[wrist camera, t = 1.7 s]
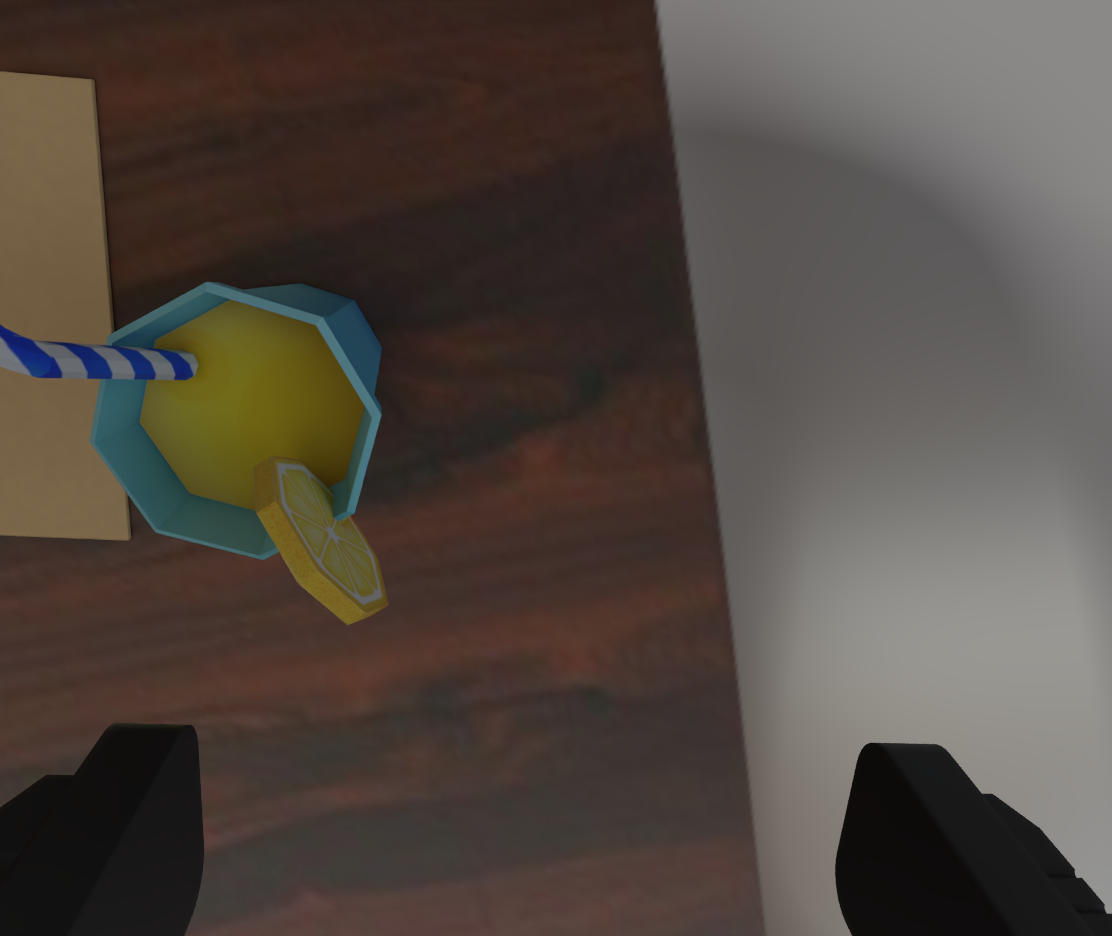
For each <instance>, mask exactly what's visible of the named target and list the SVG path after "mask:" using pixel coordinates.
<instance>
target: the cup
mask: <svg viewBox="0 0 1112 936" xmlns="http://www.w3.org/2000/svg"><path fill="white" fill-rule="evenodd" d="M381 352H382V346H381V345H380V343H379V341H378V339H377V338H376V336H375V334H374V333H373V331H372V329H371V327H370V326H369V324H368V322H367V321H366V319H365V317H364V315H363V314H362V312H361V310H360V309H359V307H358V305H357V303H356V302H355V300H353V299H350V298H346V297H343V296H340V295H337V294H334V293H330V292H327V291H324V290H321V289H317V288H314V287H311V286H308V285H304V284H301V283H299V284H290V285H281V286H272V287H263V288H253V289H244V290H242V289H239V288H235V287H232V286H229V285H226V284H222V283H219V282H205V283H204V284H202V285H200V286H198V287H196V288H194V289H193V290H191V291H189V292H187V293H185V294H183V295H182V296H180V297H178V298H176V299H174V300H172V301H171V302H169V303H167V304H165V305H163V306H161V307H160V308H158V309H156V310H154V311H152V312H150V313H149V314H147V315H145V316H143V317H141V318H139V319H138V320H136V321H134V322H132V323H130V324H128V325H127V326H125V327H123V328H121V329H119V330H117V331H116V332H114V333H112V334H110V335H108V337H107V343H106V345H95V344H81V343H66V342H52V341H37V340H32V339H29V338H27V337H24V336H21V335H19V334H16V333H14V332H12V331H10V330H8V329H6V328H4V327H3V326H2V325H1V324H0V367H3V368H5V369H8V370H12V371H15V372H19V373H22V374H26V375H29V376H33V377H37V378H73V379H100V383H99V389H98V394H97V400H96V406H95V412H94V417H93V423H92V429H91V435H90V440H89V442H90V444H91V445H92V446H93V448H94V449H95V450H96V452H97V453H98V455H99V456H100V457H101V459H102V460H103V461H104V463H105V464H106V465H107V467H108V468H109V470H110V471H111V472H112V474H113V475H114V476H115V478H116V479H117V480H118V482H119V483H120V485H121V486H122V487H123V489H124V490H125V491H126V493H127V494H128V496H129V497H130V498H131V500H132V501H133V502H134V504H135V505H136V506H137V508H138V509H139V511H140V512H141V513H142V515H143V516H144V517H145V519H146V520H147V521H148V523H149V524H150V526H151V527H152V528H153V530H154V531H155V532H156V533H160V534H163V535H167V536H171V537H175V538H179V539H183V540H187V541H191V542H195V543H199V544H203V545H206V546H210V547H214V548H218V549H222V550H226V551H230V552H234V553H238V554H242V555H246V556H250V557H253V558H257V559H261V560H264V559H266V558H268V557H270V556H272V555H274V554H276V553H278V552H280V554H281V556H282V557H283V559H284V561H285V562H286V564H287V566H288V567H289V569H290V571H291V572H292V574H293V576H294V577H295V579H296V581H297V583H298V584H299V585H301V586H302V587H303V588H304V589H305V590H307V591H308V592H309V593H310V594H311V595H312V596H314V597H315V598H316V599H317V600H318V601H320V602H321V603H322V604H323V605H324V606H325V607H327V608H328V609H329V610H330V611H331V612H333V613H334V614H335V615H336V616H337V617H338V618H340V619H341V620H342V621H343V622H344V623H345V624H347V625H349V624H352V623H354V622H357V621H359V620H362V619H364V618H367V617H369V616H372V615H373V614H375V613H376V612H378V611H380V610H381V609H383V608H384V607H386V606H387V605H389V604H388V600H387V595H386V591H385V587H384V582H383V578H382V574H381V569H380V565H379V561H378V558H377V556H376V554H375V553H374V551H373V549H372V548H371V546H370V544H369V543H368V541H367V539H366V538H365V536H364V535H363V533H362V531H361V530H360V528H359V526H358V525H357V523H356V521H355V520H354V518H353V516H352V514H354V513H355V510H356V506H357V502H358V499H359V495H360V491H361V488H362V484H363V481H364V477H365V473H366V470H367V466H368V462H369V459H370V455H371V451H372V448H373V444H374V440H375V437H376V433H377V429H378V426H379V422H380V419H381V405H380V404H379V402H378V400H377V399H376V397H375V395H374V393H375V387H376V382H377V376H378V370H379V364H380V358H381Z"/></svg>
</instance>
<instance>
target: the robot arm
mask: <svg viewBox="0 0 1112 936" xmlns="http://www.w3.org/2000/svg"><path fill="white" fill-rule="evenodd" d="M203 861H204V837H203V820H202V802H201V784H200V767H199V749H198V739H197V734H196V731H195V729H194V727H193V726H191V725H170V724H128V723H114V724H112V725H110V726H109V727H108V728H107V729H106V730H105V732H104V733H103V734H102V736H101V737H100V739H99V740H98V741H97V743H96V744H95V746H94V747H93V749H92V750H91V751H90V753H89V754H88V756H87V757H86V759H85V760H84V762H83V763H82V764H81V766H80V767H79V769H78V770H77V772H76V773H75V774H74V775H46V776H44V777H43V778H41V779H40V780H38V781H37V782H36V783H34V784H33V785H31V786H30V787H29V788H27V789H26V790H24V791H23V792H22V793H20V794H19V795H17V796H16V797H15V798H13V799H12V800H10V801H9V802H7V803H6V804H5V805H3V806H2V807H0V936H184V935H185V932H186V930H187V927H188V925H189V922H190V920H191V917H192V915H193V912H194V909H195V905H196V902H197V898H198V894H199V889H200V884H201V878H202V871H203ZM835 877H836V888H837V894H838V900H839V904H840V908H841V911H842V914H843V917H844V919H845V922H846V924H847V926H848V928H849V930H850V932H851V934H852V936H1112V914H1107V913H1106V911H1105V908H1104V903H1103V902H1102V901H1101V900H1100V899H1099V898H1098V896H1097V895H1096V894H1095V893H1094V892H1093V890H1092V889H1091V888H1090V887H1089V886H1088V884H1087V883H1086V882H1085V881H1084V880H1083V879H1082V878H1076V876H1075V869H1074V868H1073V867H1072V866H1071V864H1070V863H1069V862H1068V861H1067V860H1066V859H1065V857H1064V856H1063V855H1062V854H1061V853H1060V851H1059V850H1058V849H1057V848H1056V847H1055V846H1054V845H1053V843H1052V842H1051V841H1050V840H1049V839H1048V837H1047V836H1046V835H1045V834H1044V833H1043V831H1042V830H1041V829H1040V828H1039V827H1037V826H1036V825H1034V824H1033V823H1032V822H1030V821H1029V820H1027V819H1026V818H1025V817H1023V816H1022V815H1021V814H1019V813H1018V812H1017V811H1015V810H1014V809H1012V808H1011V807H1010V806H1008V805H1007V804H1006V803H1004V802H1003V801H1002V800H1000V799H999V798H997V797H996V796H995V795H993V794H982V793H981V792H980V791H979V790H978V788H977V787H976V786H975V785H974V783H973V782H972V781H971V780H970V778H969V777H968V776H967V775H966V774H965V772H964V771H963V770H962V769H961V767H960V766H959V765H958V763H956V761H955V760H954V759H953V757H952V756H951V755H950V754H949V753H948V752H947V750H946V749H944V748H943V747H942V746H939V745H937V744H902V743H869V744H867V745H865V746H864V747H863V749H862V750H861V752H860V754H859V757H858V760H857V764H856V769H855V774H854V778H853V782H852V787H851V792H850V796H849V800H848V805H847V810H846V815H845V819H844V823H843V828H842V832H841V838H840V842H839V846H838V851H837V857H836V865H835Z"/></svg>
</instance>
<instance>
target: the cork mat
mask: <svg viewBox="0 0 1112 936" xmlns="http://www.w3.org/2000/svg"><path fill="white" fill-rule="evenodd" d="M0 324H1V325H2V326H3V327H4V328H6V329H8V330H10V331H12V332H14V333H16V334H19V335H21V336H24V337H27V338H29V339H32V340H37V341H52V342H66V343H81V344H95V345H106V343H107V337H108V335H110V334H112V333H114V332H115V330H114V318H113V305H112V293H111V280H110V268H109V256H108V243H107V231H106V218H105V206H104V194H103V181H102V169H101V156H100V144H99V132H98V119H97V107H96V95H95V82H94V80H91V79H82V78H70V77H59V76H48V75H36V74H25V73H14V72H2V71H0ZM99 383H100V379H73V378H37V377H33V376H29V375H26V374H22V373H19V372H15V371H12V370H8V369H5V368H3V367H0V535H6V536H31V537H55V538H80V539H104V540H130V539H131V528H130V516H129V503H128V494H127V493H126V491H125V490H124V489H123V487H122V486H121V485H120V483H119V482H118V480H117V479H116V478H115V476H114V475H113V474H112V472H111V471H110V470H109V468H108V467H107V465H106V464H105V463H104V461H103V460H102V459H101V457H100V456H99V455H98V453H97V452H96V450H95V449H94V448H93V446H92V445H91V444H90V442H89V440H90V435H91V429H92V423H93V417H94V412H95V406H96V400H97V394H98V389H99Z"/></svg>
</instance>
